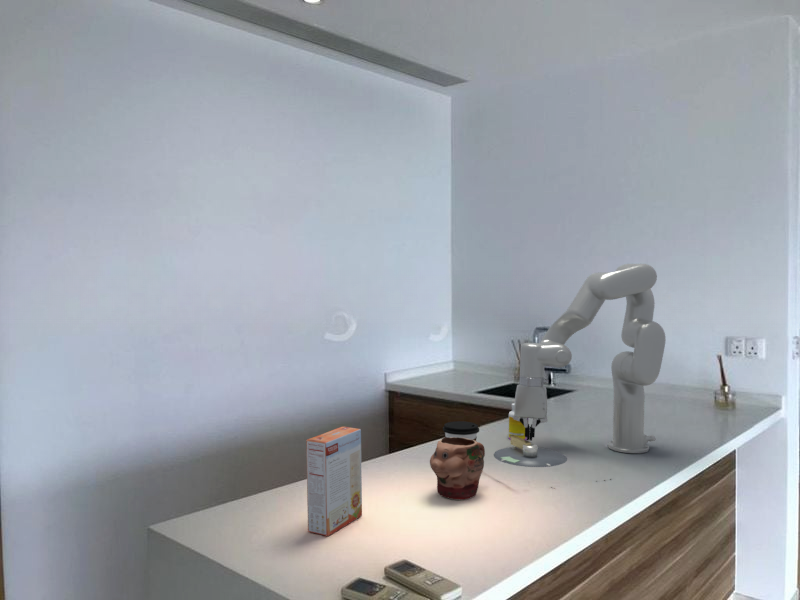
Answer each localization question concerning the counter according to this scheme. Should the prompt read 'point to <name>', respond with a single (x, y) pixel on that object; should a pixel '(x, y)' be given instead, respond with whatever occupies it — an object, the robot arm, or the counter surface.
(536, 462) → the dial
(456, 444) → the decorative planter
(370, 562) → the counter surface
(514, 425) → the supplement bottle
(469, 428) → the coffee cup
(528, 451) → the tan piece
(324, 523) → the cracker box
